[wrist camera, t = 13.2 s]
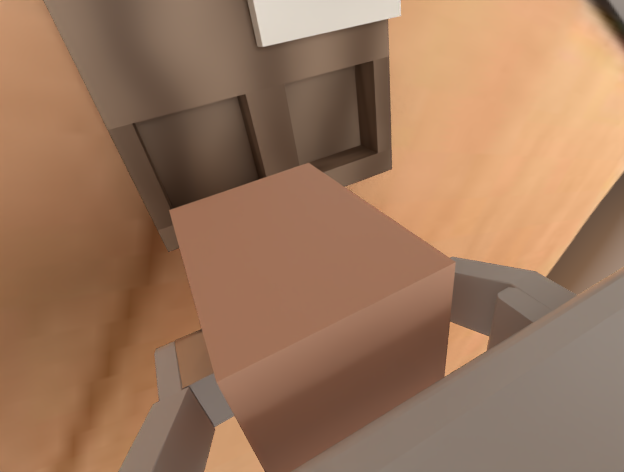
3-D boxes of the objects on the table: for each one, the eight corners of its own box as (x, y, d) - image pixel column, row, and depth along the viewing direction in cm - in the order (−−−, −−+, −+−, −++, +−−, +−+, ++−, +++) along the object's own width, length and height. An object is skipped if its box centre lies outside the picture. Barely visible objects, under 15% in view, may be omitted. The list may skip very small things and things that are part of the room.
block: (217, 317, 14) (280, 500, 8) (169, 210, 11) (216, 382, 6) (326, 268, 15) (442, 398, 10) (308, 162, 12) (455, 262, 7)
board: (163, 228, 26) (168, 252, 23) (5, -101, 16) (-21, -129, 13) (368, 157, 31) (392, 169, 28) (348, -128, 20) (383, -153, 18)
